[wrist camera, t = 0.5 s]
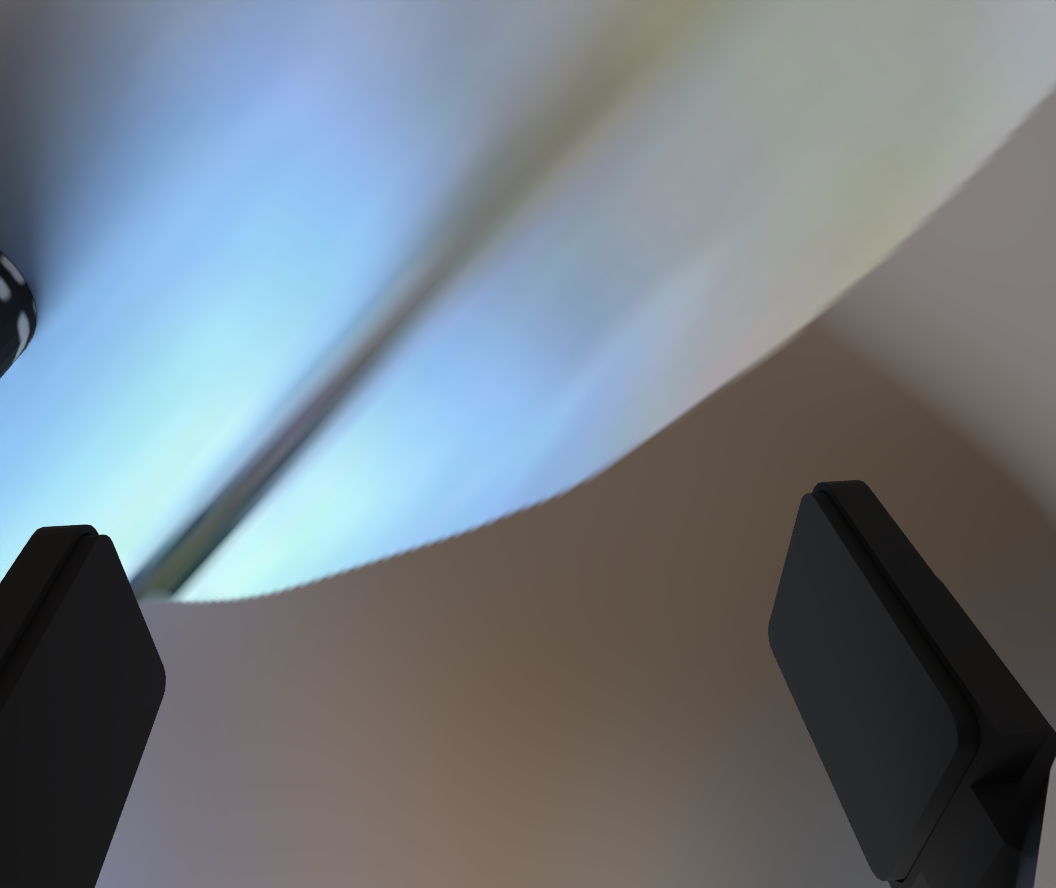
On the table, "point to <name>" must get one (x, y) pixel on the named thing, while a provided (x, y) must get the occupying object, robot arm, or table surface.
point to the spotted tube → (14, 314)
